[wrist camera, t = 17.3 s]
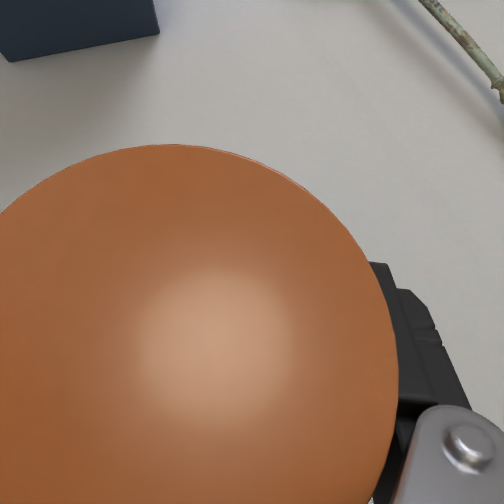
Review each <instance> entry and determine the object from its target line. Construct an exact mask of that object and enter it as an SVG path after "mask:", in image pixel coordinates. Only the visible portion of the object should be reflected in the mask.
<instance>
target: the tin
mask: <svg viewBox="0 0 504 504" xmlns="http://www.w3.org/2000/svg"><path fill="white" fill-rule="evenodd" d="M398 378H399V367H398V358H397V349H396V340H395V334H394V330H393V326H392V322H391V318H390V314H389V310H388V306H387V303H386V301H385V298H384V295H383V293H382V290H381V287H380V285H379V282H378V280H377V277H376V275H375V274H374V272H373V270H372V268H371V266H370V264H369V262H368V260H367V259H366V257H365V255H364V253H363V251H362V250H361V249H360V247H359V246H358V244H357V243H356V241H355V240H354V239H353V237H352V236H351V234H350V233H349V231H348V230H347V229H346V228H345V226H344V225H343V224H342V223H341V222H340V221H339V220H338V219H337V218H336V217H335V215H334V214H333V213H332V212H331V211H330V210H329V209H328V208H327V207H326V206H325V205H324V204H323V203H321V202H320V201H319V200H318V199H317V198H316V197H314V196H313V195H312V194H311V193H310V192H308V191H307V190H306V189H305V188H303V187H302V186H300V185H299V184H297V183H296V182H294V181H293V180H291V179H289V178H288V177H286V176H285V175H283V174H282V173H280V172H278V171H276V170H274V169H272V168H269V167H267V166H265V165H263V164H261V163H259V162H257V161H254V160H251V159H249V158H246V157H243V156H240V155H237V154H234V153H231V152H227V151H222V150H217V149H213V148H208V147H202V146H191V145H180V144H168V145H146V146H139V147H133V148H126V149H120V150H117V151H113V152H109V153H106V154H102V155H98V156H95V157H92V158H89V159H87V160H84V161H82V162H79V163H77V164H75V165H72V166H70V167H67V168H65V169H63V170H62V171H60V172H58V173H56V174H54V175H52V176H51V177H49V178H47V179H45V180H43V181H41V182H40V183H39V184H37V185H36V186H34V187H33V188H32V189H30V190H29V191H27V192H26V193H24V194H23V195H22V196H20V197H19V198H17V199H16V200H15V201H14V202H13V203H12V204H11V205H10V206H8V207H7V208H6V209H5V210H4V211H3V212H2V213H1V214H0V504H368V502H369V501H370V499H371V497H372V495H373V493H374V490H375V488H376V485H377V483H378V481H379V478H380V476H381V473H382V471H383V468H384V466H385V463H386V459H387V456H388V452H389V448H390V444H391V441H392V437H393V433H394V427H395V420H396V412H397V405H398Z"/></svg>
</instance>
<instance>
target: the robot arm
mask: <svg viewBox="0 0 504 504" xmlns="http://www.w3.org/2000/svg"><path fill="white" fill-rule="evenodd" d="M368 262H369V261H368ZM369 264H370V266H371V268H372V270H373V272H374V274H375V275H376V277H377V280H378V282H379V285H380V287H381V290H382V293H383V295H384V298H385V301H386V303H387V306H388V310H389V314H390V318H391V322H392V326H393V330H394V334H395V340H396V349H397V358H398V367H399V378H398V405H397V412H396V420H395V427H394V433H393V437H392V441H391V444H390V448H389V452H388V456H387V459H386V463H385V466H384V468H383V471H382V473H381V476H380V478H379V481H378V483H377V485H376V488H375V490H374V493H373V495H372V496H373V502H374V504H504V432H503V431H502V430H501V429H499V428H498V427H497V426H496V425H495V424H493V423H492V422H491V421H489V420H488V419H486V418H485V417H483V416H482V415H480V414H478V413H476V412H474V411H472V408H471V406H470V404H469V401H468V399H467V397H466V395H465V392H464V390H463V388H462V386H461V383H460V381H459V379H458V376H457V374H456V372H455V370H454V367H453V365H452V363H451V361H450V358H449V356H448V354H447V352H446V349H445V347H444V346H442V340H441V338H440V336H439V333H438V331H437V330H435V324H434V322H433V320H432V317H431V315H430V313H429V311H428V308H427V307H426V306H425V305H424V304H423V303H422V302H421V301H420V300H419V299H418V298H417V297H416V296H415V295H414V294H413V293H412V292H411V291H410V290H407V289H398V288H396V285H395V283H394V280H393V277H392V274H391V272H390V269H389V267H388V265H387V264H386V263H378V262H369Z"/></svg>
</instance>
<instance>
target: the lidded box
mask: <svg viewBox="0 0 504 504" xmlns="http://www.w3.org/2000/svg"><path fill="white" fill-rule="evenodd" d="M159 33H160V30H159V26H158V21H157V17H156V12H155V8H154V4H153V0H0V52H1V53H2V54H3V56H4V57H5V58H6V59H7V60H8V62H13V61H18V60H23V59H28V58H33V57H39V56H44V55H49V54H54V53H60V52H65V51H70V50H75V49H80V48H86V47H91V46H96V45H101V44H107V43H112V42H117V41H122V40H127V39H133V38H138V37H143V36H148V35H154V34H159Z"/></svg>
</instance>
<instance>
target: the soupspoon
mask: <svg viewBox="0 0 504 504" xmlns="http://www.w3.org/2000/svg"><path fill="white" fill-rule="evenodd" d="M418 1H419V2H420V3H421V4H422V5H423V6H424V7H425V8H426V9H427V10H428V11H429V12H430V13H431V14H432V15H433V16H434V18H435V19H436V20H437V21H438V22H439V23H440V24H441V25H442V26H443V27H444V28H445V29H446V30H447V31H448V32H449V33H450V34H451V35H452V37H453V38H454V39H455V40H456V41H457V42H458V43H459V44H460V45H461V46H462V48H463V49H464V50H465V51H466V52H467V53H468V55H469V56H470V57H471V58H472V59H473V60H474V61H475V63H476V64H477V65H478V66H479V67H480V68H481V70H483V71H484V72H485V74H486V75H487V76H488V77H489V79H490V80H491V82H492V86H491V89H494V88H495V89H498V90H499V94H500V101H501V103H502V104H504V76H502V75H501V74H500V72H499V71H498V69H497V68H496V67H495V66H494V64H493V63H492V62H491V60H490V59H489V58H488V57H487V56H486V54H485V53H484V52H483V51H482V50H481V48H480V47H479V46H478V45H477V44H476V42H475V41H474V40H473V39H472V38H471V37H470V36H469V34H468V33H467V32H466V31H465V30H464V29H463V28H462V27H461V26H460V25H459V24H458V23H457V22H456V20H455V19H454V18H453V17H452V16H451V15H450V14H449V13H448V12H447V11H446V10H445V9H444V7H443V6H442V5H441V4H440V3H439V2H438V1H437V0H418Z"/></svg>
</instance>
